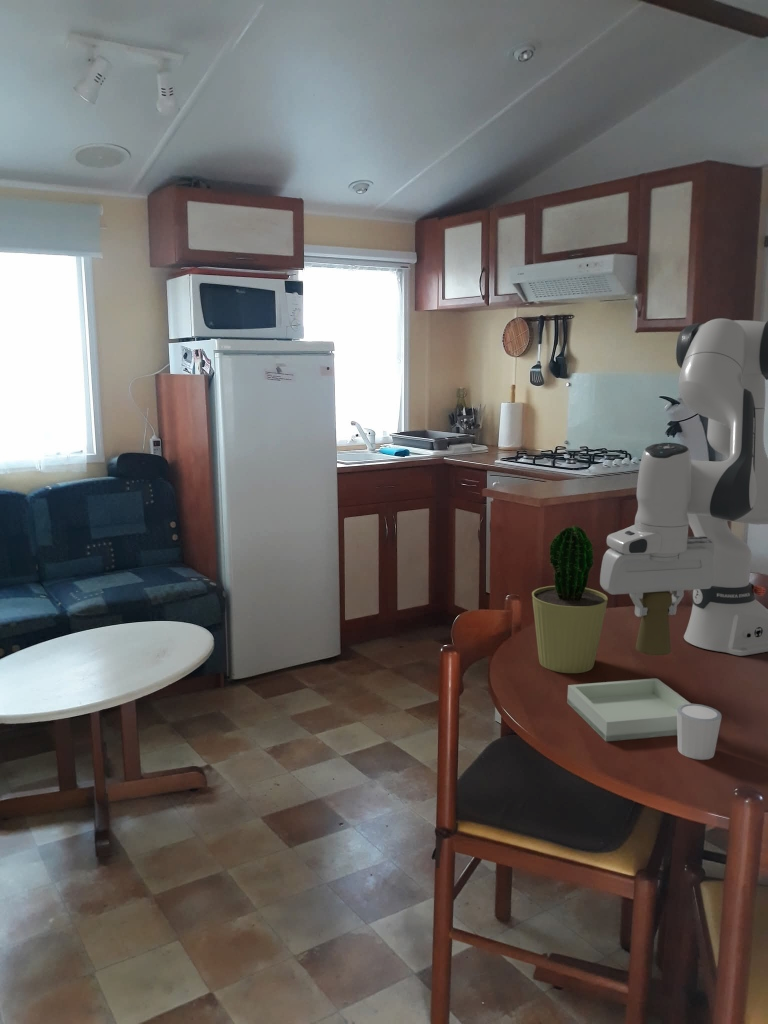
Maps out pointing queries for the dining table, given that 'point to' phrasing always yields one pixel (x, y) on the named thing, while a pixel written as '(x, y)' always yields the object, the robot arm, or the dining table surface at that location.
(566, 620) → the potted cactus
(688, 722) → the white cup
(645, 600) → the olive brown pawn
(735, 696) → the dining table surface
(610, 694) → the tray
